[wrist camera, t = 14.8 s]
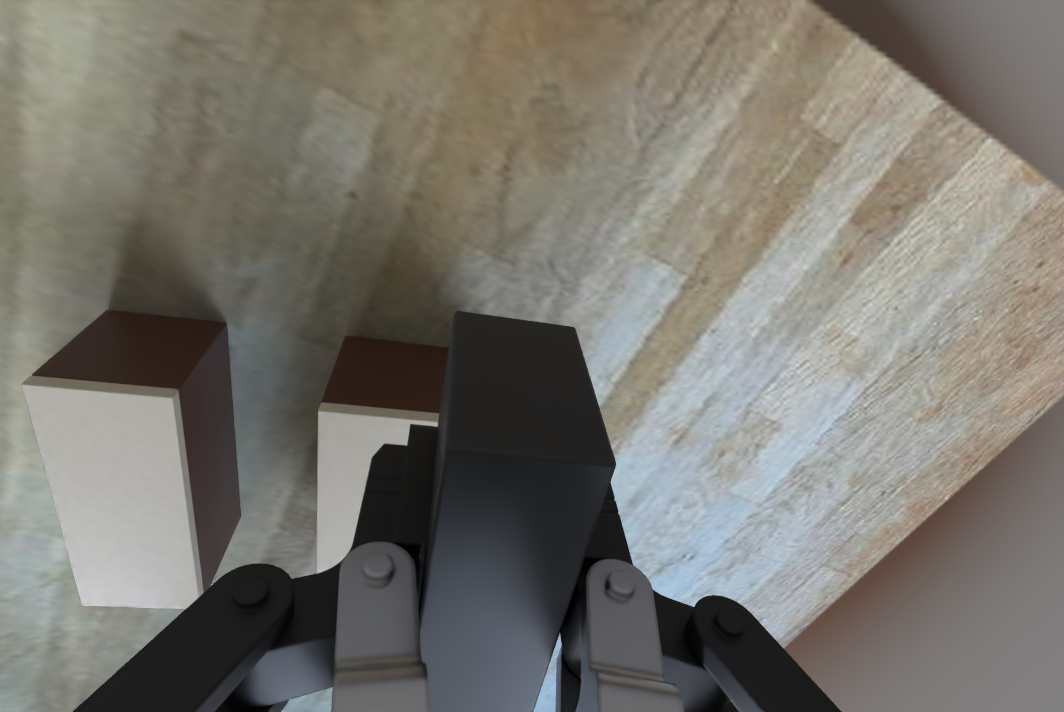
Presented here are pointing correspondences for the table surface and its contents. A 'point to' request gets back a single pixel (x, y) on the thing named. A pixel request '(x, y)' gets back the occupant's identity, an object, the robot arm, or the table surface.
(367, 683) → the robot arm
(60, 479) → the cake slice
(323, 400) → the cake
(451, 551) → the knife
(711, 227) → the table surface
